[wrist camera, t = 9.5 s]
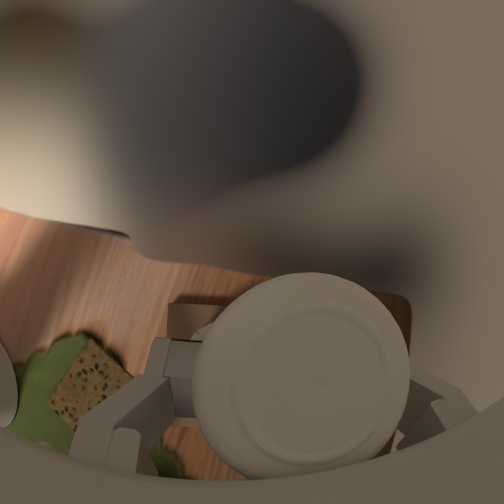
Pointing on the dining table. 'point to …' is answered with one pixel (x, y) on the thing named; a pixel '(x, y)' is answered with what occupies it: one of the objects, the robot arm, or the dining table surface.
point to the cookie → (87, 383)
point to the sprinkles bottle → (300, 377)
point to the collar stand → (190, 332)
